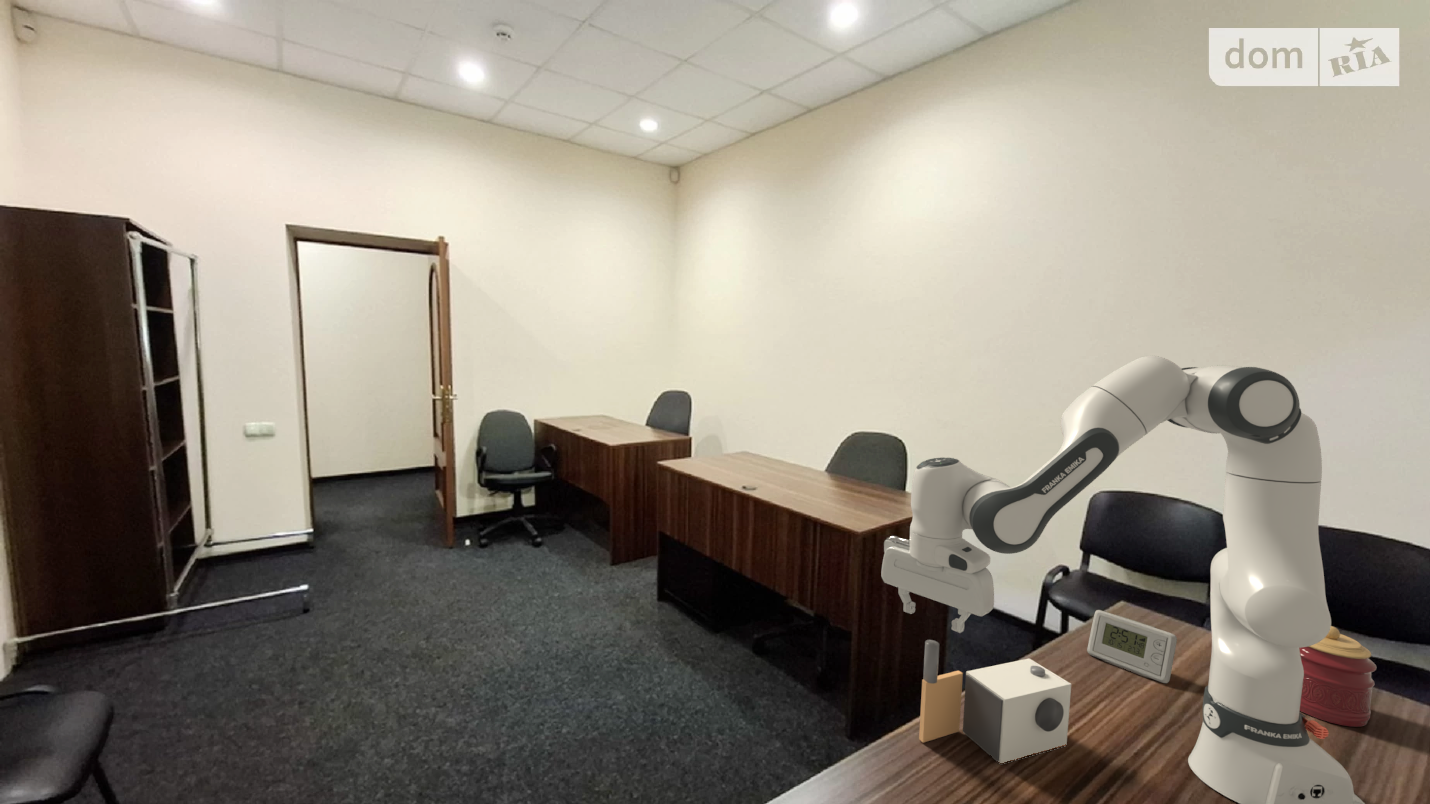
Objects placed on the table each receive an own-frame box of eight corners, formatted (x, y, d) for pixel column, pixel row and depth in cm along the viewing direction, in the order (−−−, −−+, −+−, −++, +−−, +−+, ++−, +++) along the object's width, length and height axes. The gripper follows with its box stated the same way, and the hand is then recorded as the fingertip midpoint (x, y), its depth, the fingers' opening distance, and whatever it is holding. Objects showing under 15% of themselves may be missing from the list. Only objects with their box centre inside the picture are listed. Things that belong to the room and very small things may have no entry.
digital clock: (1082, 653, 136) (1085, 611, 135) (1104, 645, 140) (1107, 604, 139) (1158, 690, 122) (1163, 643, 121) (1180, 680, 126) (1185, 634, 125)
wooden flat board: (962, 733, 106) (967, 639, 104) (925, 745, 102) (931, 647, 101) (952, 725, 108) (957, 633, 106) (916, 736, 105) (921, 641, 103)
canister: (1354, 703, 118) (1364, 622, 117) (1381, 737, 107) (1393, 649, 106) (1269, 682, 125) (1278, 606, 124) (1287, 712, 114) (1296, 629, 113)
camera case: (1025, 715, 112) (1029, 654, 111) (1071, 749, 102) (1076, 682, 101) (960, 731, 107) (964, 667, 105) (1003, 769, 97) (1008, 698, 96)
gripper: (875, 536, 107) (873, 606, 108) (983, 567, 92) (979, 648, 93) (894, 530, 111) (892, 597, 112) (1000, 558, 96) (996, 636, 97)
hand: (932, 621), depth 102 cm, fingers open, 8 cm apart
